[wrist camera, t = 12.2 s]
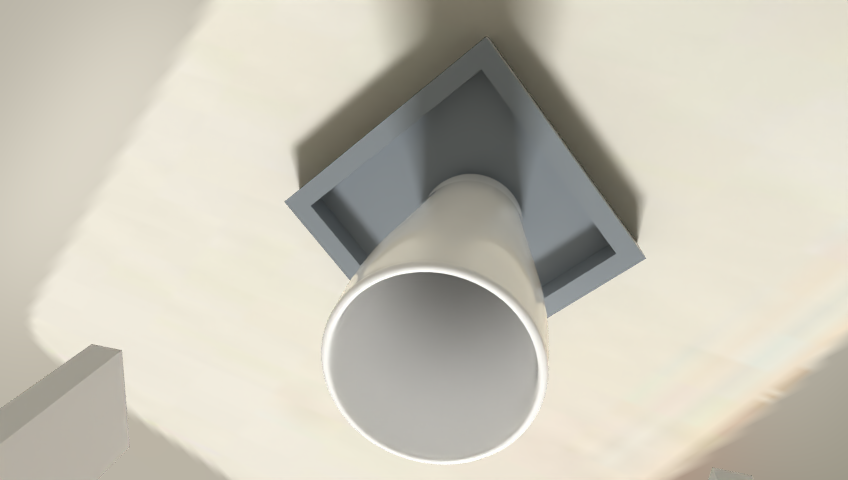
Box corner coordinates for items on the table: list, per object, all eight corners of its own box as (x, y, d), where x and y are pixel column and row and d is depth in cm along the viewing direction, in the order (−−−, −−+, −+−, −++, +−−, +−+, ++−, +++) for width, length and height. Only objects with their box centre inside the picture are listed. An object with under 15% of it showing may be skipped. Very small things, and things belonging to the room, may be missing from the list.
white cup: (383, 207, 31) (270, 342, 17) (484, 129, 29) (451, 211, 15) (460, 302, 32) (413, 503, 18) (563, 234, 30) (601, 402, 16)
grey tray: (488, 37, 28) (485, 36, 26) (637, 243, 30) (645, 258, 28) (299, 191, 32) (284, 201, 30) (442, 364, 34) (437, 384, 32)
